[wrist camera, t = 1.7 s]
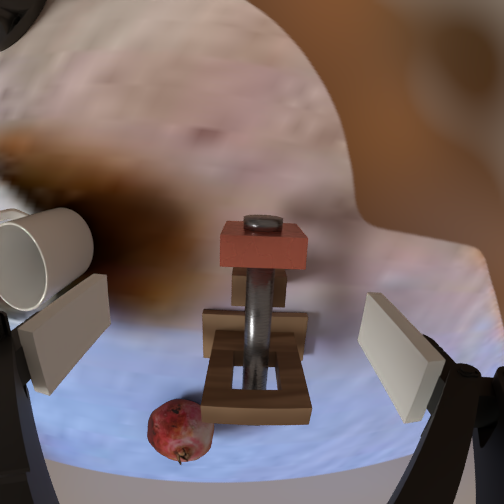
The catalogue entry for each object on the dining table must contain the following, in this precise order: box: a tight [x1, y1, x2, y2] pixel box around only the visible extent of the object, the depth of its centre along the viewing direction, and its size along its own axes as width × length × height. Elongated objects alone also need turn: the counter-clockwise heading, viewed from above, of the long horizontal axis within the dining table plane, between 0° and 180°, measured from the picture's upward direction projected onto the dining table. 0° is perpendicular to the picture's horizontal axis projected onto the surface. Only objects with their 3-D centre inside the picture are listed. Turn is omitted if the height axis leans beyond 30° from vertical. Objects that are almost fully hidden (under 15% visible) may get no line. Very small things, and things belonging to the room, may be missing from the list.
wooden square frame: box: [201, 309, 312, 425], centre depth 31 cm, size 6×12×14 cm, turn 88°
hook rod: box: [220, 215, 308, 426], centre depth 29 cm, size 19×6×7 cm, turn 178°
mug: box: [0, 208, 94, 311], centre depth 29 cm, size 12×9×11 cm
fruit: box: [147, 399, 214, 465], centre depth 36 cm, size 9×10×10 cm
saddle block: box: [231, 267, 287, 307], centre depth 33 cm, size 3×5×6 cm, turn 88°
